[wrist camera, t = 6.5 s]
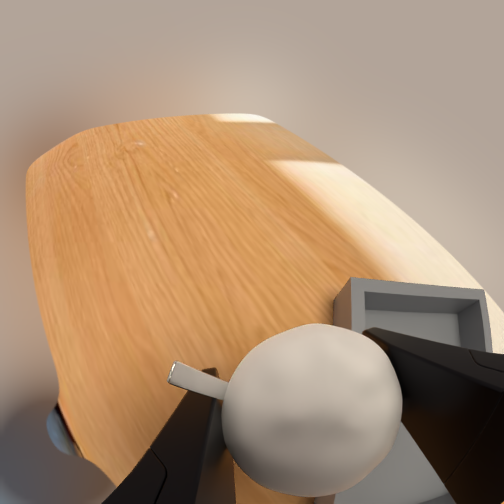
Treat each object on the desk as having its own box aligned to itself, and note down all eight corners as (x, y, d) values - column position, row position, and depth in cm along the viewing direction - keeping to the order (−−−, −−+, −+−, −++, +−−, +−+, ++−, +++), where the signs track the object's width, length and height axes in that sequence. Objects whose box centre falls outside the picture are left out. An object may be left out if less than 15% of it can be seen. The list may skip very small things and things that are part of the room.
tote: (448, 496, 12) (477, 503, 8) (308, 526, 12) (322, 549, 9) (457, 308, 22) (483, 289, 18) (333, 300, 23) (350, 277, 19)
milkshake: (239, 353, 14) (212, 261, 6) (335, 376, 13) (452, 318, 5) (213, 431, 12) (133, 475, 3) (314, 455, 11) (411, 521, 2)
